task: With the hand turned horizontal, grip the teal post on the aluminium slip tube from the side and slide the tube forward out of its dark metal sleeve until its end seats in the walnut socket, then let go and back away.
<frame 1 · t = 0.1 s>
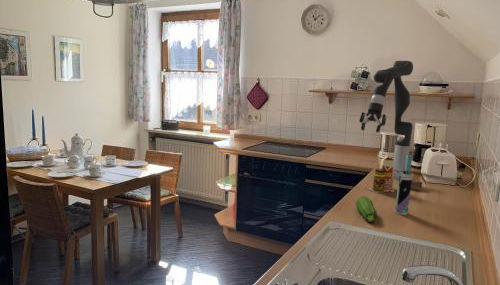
hand: (369, 131, 217), 31 cm above the worktop, tool tilted 20°, fingers open, 8 cm apart
slip tube: (405, 167, 232), point 9 cm above the worktop, slide at 0.0 cm
condiment: (377, 190, 212), on the worktop, touching milk carton
socket: (413, 188, 220), on the worktop
sleeve: (402, 180, 236), on the worktop
vegetable: (366, 216, 171), on the worktop
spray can: (401, 213, 177), on the worktop
milk carton: (384, 189, 216), on the worktop, touching condiment
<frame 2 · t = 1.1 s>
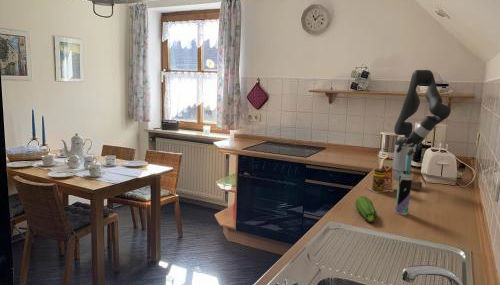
hand: (402, 153, 225), 18 cm above the worktop, tool tilted 35°, fingers open, 8 cm apart
slip tube: (405, 167, 232), point 9 cm above the worktop, slide at -0.1 cm, touching gripper
milk carton: (383, 189, 216), on the worktop, touching condiment
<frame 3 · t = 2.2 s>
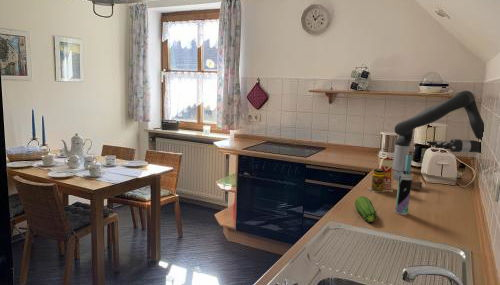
hand: (432, 144, 226), 24 cm above the worktop, tool horizontal, fingers open, 8 cm apart
slip tube: (405, 167, 232), point 9 cm above the worktop, slide at 0.0 cm
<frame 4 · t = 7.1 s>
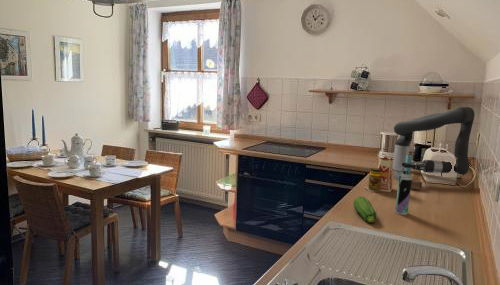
hand: (403, 165, 229), 11 cm above the worktop, tool horizontal, fingers closed on slip tube, 2 cm apart
slip tube: (405, 167, 232), point 9 cm above the worktop, slide at 0.0 cm, touching gripper
condiment: (373, 189, 213), on the worktop, touching milk carton
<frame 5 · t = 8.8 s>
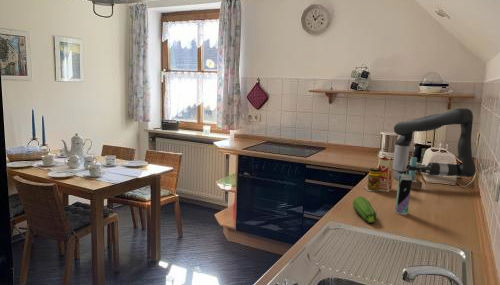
hand: (407, 167, 222), 11 cm above the worktop, tool horizontal, fingers closed on slip tube, 2 cm apart
slip tube: (410, 169, 225), point 9 cm above the worktop, slide at 6.9 cm, touching gripper
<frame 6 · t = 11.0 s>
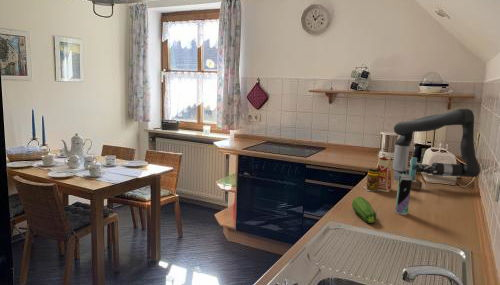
hand: (413, 168, 221), 11 cm above the worktop, tool horizontal, fingers open, 8 cm apart
slip tube: (410, 169, 225), point 9 cm above the worktop, slide at 7.1 cm
condiment: (371, 189, 214), on the worktop, touching milk carton
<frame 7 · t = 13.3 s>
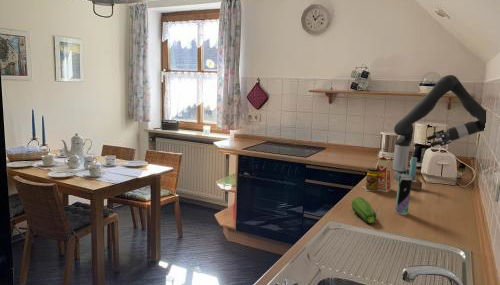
hand: (428, 142, 229), 25 cm above the worktop, tool tilted 65°, fingers open, 8 cm apart
milk carton: (380, 189, 215), on the worktop, touching condiment
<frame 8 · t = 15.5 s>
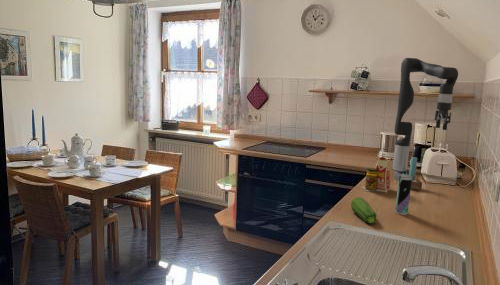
hand: (441, 128, 230), 33 cm above the worktop, tool pointing down, fingers open, 8 cm apart
at the end: slip tube slide at 7.1 cm; the gripper is holding nothing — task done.
